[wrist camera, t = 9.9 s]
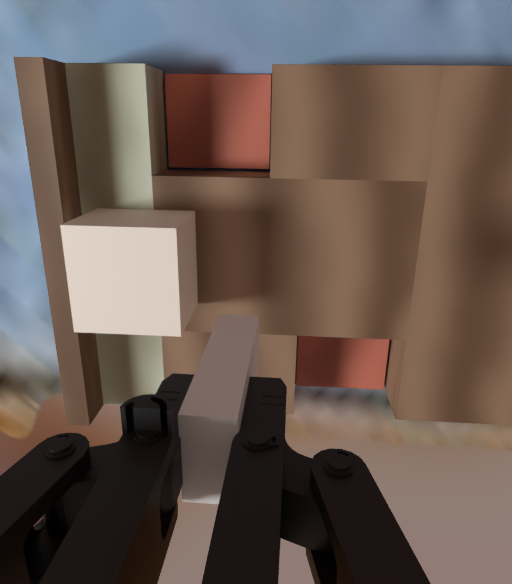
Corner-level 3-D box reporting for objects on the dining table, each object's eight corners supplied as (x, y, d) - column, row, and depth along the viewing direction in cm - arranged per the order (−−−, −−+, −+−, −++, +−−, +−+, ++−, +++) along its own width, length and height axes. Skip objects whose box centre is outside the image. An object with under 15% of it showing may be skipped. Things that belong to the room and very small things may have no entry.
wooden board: (559, 73, 28) (634, 60, 22) (491, 393, 36) (533, 449, 29) (69, 70, 30) (13, 57, 24) (103, 375, 37) (67, 424, 31)
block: (195, 210, 28) (176, 228, 24) (197, 303, 30) (181, 336, 26) (97, 208, 29) (60, 225, 24) (106, 300, 31) (74, 332, 26)
